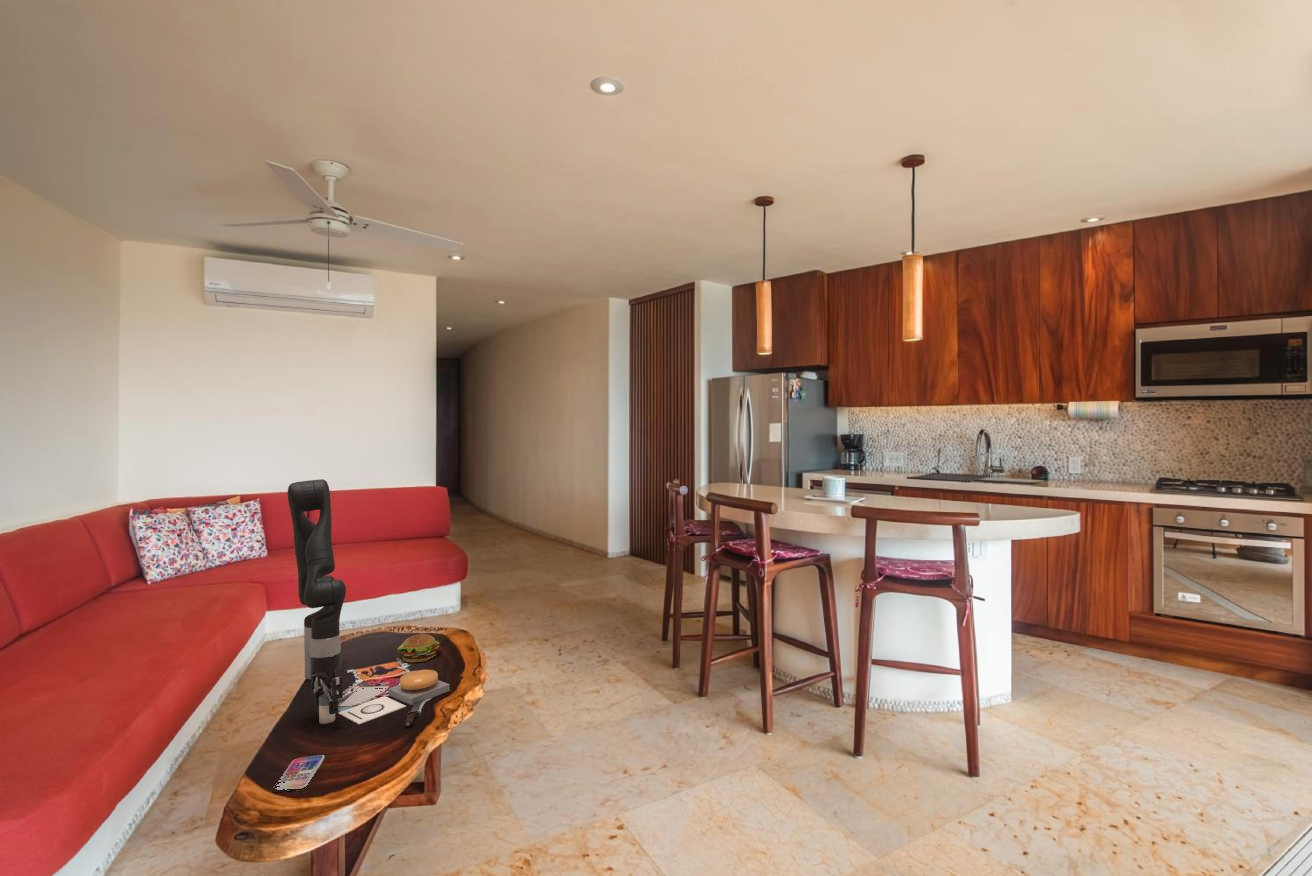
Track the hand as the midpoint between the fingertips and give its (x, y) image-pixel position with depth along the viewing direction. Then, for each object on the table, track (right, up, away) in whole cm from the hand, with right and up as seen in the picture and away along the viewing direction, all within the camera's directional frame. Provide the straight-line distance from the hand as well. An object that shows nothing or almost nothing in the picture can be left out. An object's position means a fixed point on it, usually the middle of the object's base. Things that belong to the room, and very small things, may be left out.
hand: (326, 709), depth 173 cm
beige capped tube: (0, -3, 0) cm, 3 cm away
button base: (+19, -3, +19) cm, 27 cm away
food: (+6, -4, +51) cm, 52 cm away
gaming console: (+3, -4, +17) cm, 18 cm away
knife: (+23, -3, +8) cm, 25 cm away
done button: (+19, 0, +19) cm, 27 cm away
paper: (+10, -3, +7) cm, 12 cm away
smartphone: (+9, -3, -28) cm, 29 cm away
